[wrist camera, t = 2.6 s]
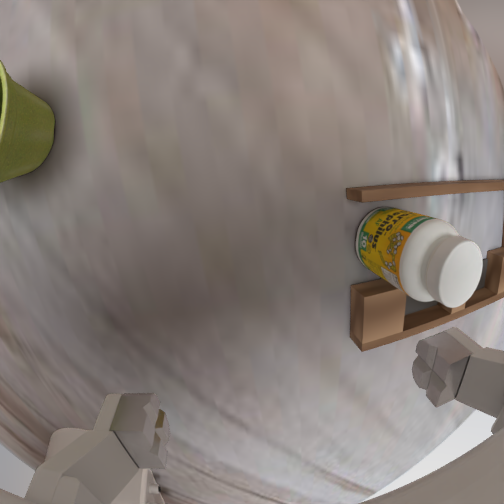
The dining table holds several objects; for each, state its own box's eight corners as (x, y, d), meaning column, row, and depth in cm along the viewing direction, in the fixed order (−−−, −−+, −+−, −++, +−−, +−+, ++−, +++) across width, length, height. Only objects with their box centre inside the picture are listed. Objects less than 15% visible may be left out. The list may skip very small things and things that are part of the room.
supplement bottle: (377, 282, 24) (448, 336, 14) (340, 240, 22) (414, 283, 13) (416, 237, 23) (497, 270, 14) (384, 191, 22) (471, 208, 12)
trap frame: (499, 285, 27) (513, 292, 24) (350, 337, 25) (361, 351, 22) (507, 179, 23) (523, 181, 21) (346, 188, 21) (361, 190, 19)
